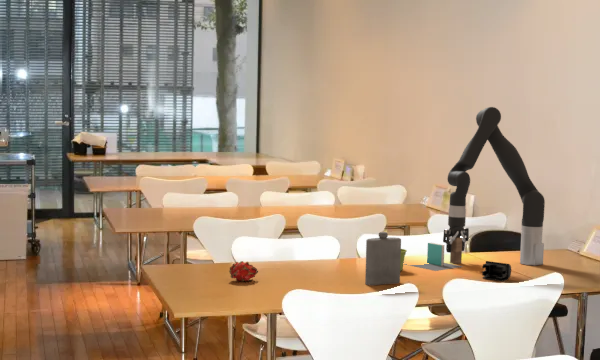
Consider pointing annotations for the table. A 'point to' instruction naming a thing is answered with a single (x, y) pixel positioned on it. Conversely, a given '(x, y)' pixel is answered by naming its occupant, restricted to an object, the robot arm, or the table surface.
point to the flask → (383, 260)
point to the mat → (436, 266)
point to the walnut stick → (456, 251)
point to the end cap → (496, 271)
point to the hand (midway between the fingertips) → (455, 251)
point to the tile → (435, 254)
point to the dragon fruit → (242, 271)
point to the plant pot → (402, 258)
